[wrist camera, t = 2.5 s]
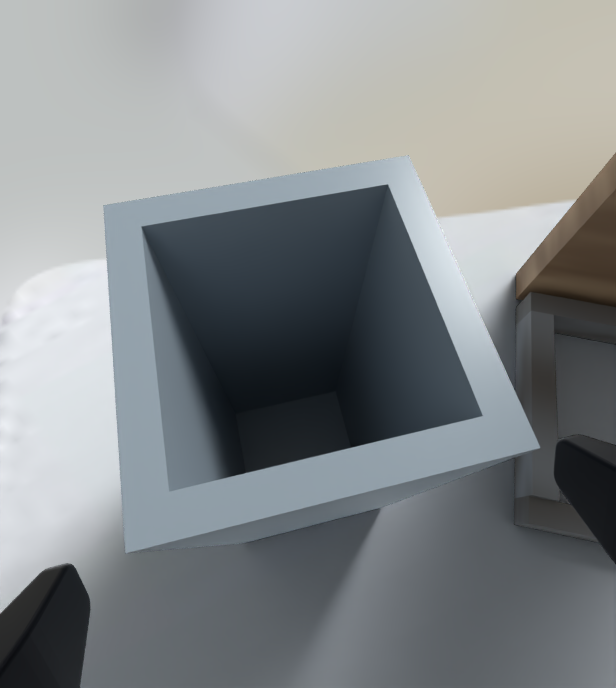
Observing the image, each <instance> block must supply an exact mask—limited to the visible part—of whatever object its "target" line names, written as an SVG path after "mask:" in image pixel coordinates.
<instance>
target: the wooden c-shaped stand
mask: <svg viewBox="0 0 616 688" xmlns="http://www.w3.org/2000/svg"><path fill="white" fill-rule="evenodd" d="M516 299H519V300H523V301H522V302H521V303H520V304H519V305H518V306H517V307H516V358H515V392H516V395H517V397H518V399H519V401H520V403H521V406H522V408H523V410H524V412H525V415H526V417H527V419H528V421H529V423H530V426H531V428H532V430H533V432H534V435H535V437H536V439H537V441H538V443H539V446H540V448H539V449H536V450H534V451H531V452H528V453H526V454H523V455H520V456H518V457H515V489H514V525H519V526H523V527H528V528H533V529H537V530H542V531H547V532H551V533H556V534H561V535H565V536H570V537H575V538H579V539H584V540H588V541H593V542H598V541H597V539H596V538H595V536H594V535H593V534H592V532H591V531H590V530H589V528H588V527H587V526H586V524H585V523H584V521H583V520H582V519H581V517H580V516H579V515H578V513H577V512H576V510H575V509H574V508H573V506H572V505H571V504H566V503H561V502H556V501H560V491H559V487H558V486H557V484H556V482H555V479H554V474H553V470H554V457H555V446H556V443H557V441H558V431H557V401H556V370H555V340H554V333H558V334H564V335H569V336H574V337H580V338H585V339H590V340H596V341H601V342H607V343H612V344H616V153H615V154H614V155H613V157H612V158H611V159H610V160H609V162H608V163H607V164H606V165H605V166H604V168H603V169H602V170H601V171H600V172H599V174H598V175H597V176H596V177H595V179H594V180H593V181H592V182H591V183H590V185H589V186H588V187H587V188H586V190H585V191H584V192H583V193H582V194H581V196H580V197H579V198H578V199H577V200H576V202H575V203H574V204H573V205H572V207H571V208H570V209H569V210H568V211H567V213H566V214H565V215H564V216H563V217H562V219H561V220H560V221H559V222H558V224H557V225H556V226H555V227H554V228H553V230H552V231H551V232H550V233H549V235H548V236H547V237H546V238H545V239H544V241H543V242H542V243H541V244H540V245H539V247H538V248H537V249H536V250H535V252H534V253H533V254H532V255H531V256H530V258H529V259H528V260H527V261H526V262H525V264H524V265H523V266H522V267H521V269H520V270H519V271H518V272H517V273H516ZM598 543H599V542H598Z"/></svg>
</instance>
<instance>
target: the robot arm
mask: <svg viewBox="0 0 616 688" xmlns="http://www.w3.org/2000/svg"><path fill="white" fill-rule="evenodd" d="M553 474H554V479H555V482H556V484H557V486H558V487H559V489H560V490H561V491H562V493H563V494H564V495H565V497H566V498H567V500H568V501H569V502H570V504H571V505H572V506H573V508H574V509H575V510H576V512H577V513H578V515H579V516H580V517H581V519H582V520H583V521H584V523H585V524H586V526H587V527H588V528H589V530H590V531H591V532H592V534H593V535H594V536H595V538H596V539H597V541H598V542H599V543H600V545H601V546H602V547H603V549H604V550H605V551H606V552H607V554H608V555H609V556H610V558H611V559H612V560H613V561H614V562H615V564H616V445H613V444H610V443H607V442H603V441H600V440H597V439H594V438H590V437H587V436H584V435H572V436H568V437H564V438H561V439H559V440H558V441H557V443H556V446H555V457H554V470H553ZM89 617H90V599H89V595H88V593H87V591H86V589H85V587H84V585H83V583H82V581H81V578H80V576H79V574H78V572H77V570H76V568H75V567H74V566H73V565H72V564H68V563H67V564H62V565H58V566H54V567H50V568H47V569H45V570H43V571H42V572H41V573H40V574H39V575H38V576H37V577H36V578H35V579H34V580H33V581H32V582H31V583H30V584H29V585H28V586H27V587H26V588H25V589H24V590H23V591H22V592H21V593H20V594H19V595H18V596H17V597H16V598H15V599H14V600H13V601H12V602H11V603H10V604H9V605H8V606H7V607H6V608H5V610H4V611H3V612H2V613H1V614H0V688H80V683H81V675H82V668H83V661H84V653H85V646H86V639H87V631H88V624H89Z"/></svg>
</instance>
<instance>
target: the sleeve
mask: <svg viewBox="0 0 616 688" xmlns="http://www.w3.org/2000/svg"><path fill="white" fill-rule="evenodd" d="M103 207H104V223H105V239H106V255H107V271H108V287H109V303H110V319H111V335H112V351H113V367H114V383H115V399H116V415H117V431H118V447H119V463H120V479H121V495H122V510H123V526H124V542H125V553H136V552H148V551H160V550H172V549H184V548H196V547H207V546H219V545H231V544H243V543H247V542H251V541H255V540H258V539H262V538H266V537H270V536H274V535H278V534H282V533H285V532H289V531H293V530H297V529H301V528H305V527H309V526H312V525H316V524H320V523H324V522H328V521H332V520H336V519H339V518H343V517H347V516H351V515H355V514H359V513H363V512H366V511H370V510H374V509H378V508H382V507H384V506H387V505H390V504H392V503H395V502H398V501H400V500H403V499H406V498H408V497H411V496H414V495H416V494H419V493H422V492H424V491H427V490H430V489H432V488H435V487H438V486H440V485H443V484H446V483H448V482H451V481H454V480H456V479H459V478H462V477H464V476H467V475H470V474H472V473H475V472H478V471H480V470H483V469H486V468H488V467H491V466H494V465H496V464H499V463H502V462H504V461H507V460H510V459H512V458H515V457H518V456H520V455H523V454H526V453H528V452H531V451H534V450H536V449H539V448H540V446H539V443H538V441H537V439H536V437H535V435H534V432H533V430H532V428H531V426H530V423H529V421H528V419H527V417H526V415H525V412H524V410H523V408H522V406H521V403H520V401H519V399H518V397H517V395H516V392H515V390H514V388H513V386H512V383H511V381H510V379H509V377H508V375H507V372H506V370H505V368H504V366H503V364H502V361H501V359H500V357H499V355H498V352H497V350H496V348H495V346H494V344H493V341H492V339H491V337H490V335H489V332H488V330H487V328H486V326H485V324H484V321H483V319H482V317H481V315H480V312H479V310H478V308H477V306H476V304H475V301H474V299H473V297H472V295H471V293H470V290H469V288H468V286H467V284H466V281H465V279H464V277H463V275H462V273H461V270H460V268H459V266H458V264H457V261H456V259H455V257H454V255H453V253H452V250H451V248H450V246H449V244H448V241H447V239H446V237H445V235H444V233H443V230H442V228H441V226H440V224H439V222H438V219H437V217H436V215H435V213H434V210H433V209H432V206H431V204H430V202H429V199H428V197H427V195H426V193H425V190H424V188H423V186H422V184H421V182H420V179H419V177H418V175H417V173H416V171H415V168H414V166H413V164H412V162H411V160H410V158H409V155H407V156H401V157H395V158H389V159H383V160H377V161H371V162H365V163H358V164H353V165H347V166H340V167H334V168H328V169H322V170H316V171H310V172H304V173H297V174H292V175H285V176H280V177H273V178H267V179H261V180H255V181H249V182H243V183H237V184H230V185H224V186H218V187H212V188H206V189H201V190H194V191H189V192H182V193H176V194H170V195H164V196H157V197H151V198H145V199H139V200H133V201H127V202H121V203H115V204H109V205H104V206H103Z"/></svg>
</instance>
